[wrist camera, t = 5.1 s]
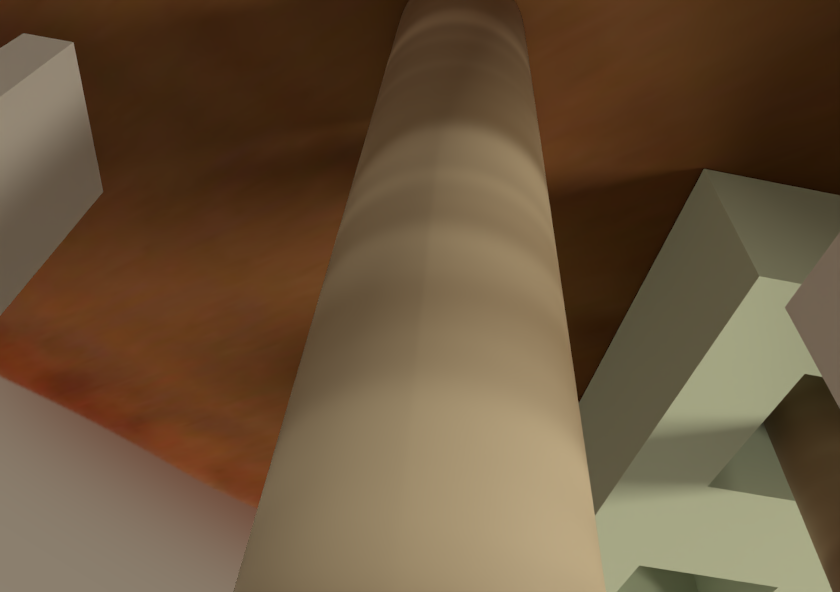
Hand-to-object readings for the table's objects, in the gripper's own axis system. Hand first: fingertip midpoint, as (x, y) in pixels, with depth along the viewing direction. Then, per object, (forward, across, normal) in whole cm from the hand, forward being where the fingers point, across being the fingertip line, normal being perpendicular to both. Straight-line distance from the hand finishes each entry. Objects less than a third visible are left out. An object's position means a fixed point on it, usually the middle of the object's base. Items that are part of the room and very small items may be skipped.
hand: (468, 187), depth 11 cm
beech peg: (+6, 0, 0) cm, 6 cm away
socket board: (+6, +12, -12) cm, 18 cm away
